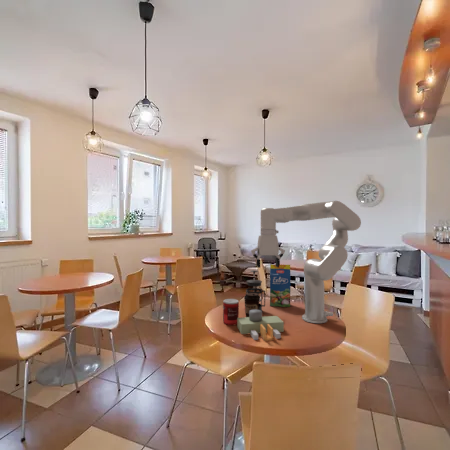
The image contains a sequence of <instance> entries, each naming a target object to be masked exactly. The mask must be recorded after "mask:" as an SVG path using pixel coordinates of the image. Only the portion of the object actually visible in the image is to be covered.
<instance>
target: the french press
mask: <svg viewBox="0 0 450 450" xmlns="http://www.w3.org/2000/svg"><path fill="white" fill-rule="evenodd" d="M250 272H251V273H252V274H253V275H255V274H256V273H257V272H258V270H254V269H253V270H250ZM262 282H263V281H262V280H261V279H259V280H258V279H247V280H246V284H247V286H249V287H248V288H246V289H245V294H246V293H258V294H259V295H260V300H259V310H261V311H262V312H263V307H264V308H265V307H266V290H265V289H261V288H258V287H260V286H262ZM263 292H264V294H263ZM262 294H263V295H264V298H263V297H262V296H263V295H262ZM262 299H263V300H262ZM262 301H264V303H263V302H262Z"/></svg>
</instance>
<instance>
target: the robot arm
mask: <svg viewBox="0 0 450 450" xmlns="http://www.w3.org/2000/svg"><path fill="white" fill-rule="evenodd" d="M327 218H328V219H329V218H332V221H331V222H332V224H331V225H332V235H331V236H330V237H329V239H328V240H327V241H326V242H325V243H324V244H323V245H322V247H321V248H320V249H319V250H318V258H319V259H318V258H310V259H307V260H306V261H305V262H304V265H303V274H304V284H305V285H304V286H305V287H304V294H305V295H304V314H302V315H301V319H302V320H303V321H305V322H308V323H312V324H325V323H327V322H328V317H333V316H334V312H332V311H331V312H330V311H327V310H326V311H325V281H329V280H331V279H332V278H334V277H335V275H336V274H337V273H338V272H339V271H340V269H341V268H342V267H343V266H344V265H345V264H346V262H347V260H348V256H349V255H348V251H347V249H346V248H345V247H346V246H347V244H348V242H349V233H348V231H351V232H354V231H357V230H358V229H360V227H361V225H362V220H361V218H360V216H359V215H358V214H357V213H356V212H355V211H354V210H352V209H351V208H350V207H349V206H347V205H346V204H345V203H343V202H341V201H340V200H330V201H322V202H314V203H305V204H304V203H303V204H300V205H295V206H289V207H288V206H287V207H280V208H279V207H278V208H273V207H265V208H261V209H260V235H258V238H257V247H255V248H253V249H251V250H250V253H251V254H252V257H254V258H255V263H256V267H257V268H261V257H263V256H265V257H266V256H267V257H269V256H275V264H276V267H279V265H281V259H282V257H283V256H284V254H285V252H286V250H285V249H283V248H282V247H279V238H278V236H277V234H279V230H277V224H280V223H281V224H285V223H289V222H294V221H299V222H300V221H302V222H304V221H315V220H321V219H322V220H323V219H327ZM279 251H280V253H279ZM256 252H257V254H256Z"/></svg>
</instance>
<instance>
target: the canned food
mask: <svg viewBox="0 0 450 450" xmlns="http://www.w3.org/2000/svg"><path fill="white" fill-rule="evenodd" d="M239 304H240V302H239V299H236V298H226V299H224V300H223V301H222V308H223V310H222V311H223V312H222V316H223V317H222V321H223V323H224V324H225V325H227V326H235V325H237V318H240V317H239V313H240V312H239V307H240V306H239Z"/></svg>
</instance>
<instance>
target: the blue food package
mask: <svg viewBox="0 0 450 450" xmlns="http://www.w3.org/2000/svg"><path fill="white" fill-rule="evenodd" d="M269 266H270V267H269V272H270V273H269V306H270V307H281V308H290V307H291V264H280V265H279V267H276V263H275V264H272V263H271V264H270V265H269Z"/></svg>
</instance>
